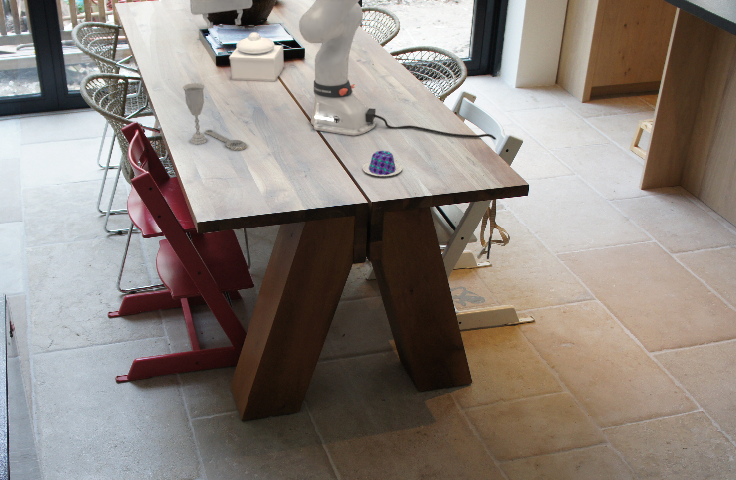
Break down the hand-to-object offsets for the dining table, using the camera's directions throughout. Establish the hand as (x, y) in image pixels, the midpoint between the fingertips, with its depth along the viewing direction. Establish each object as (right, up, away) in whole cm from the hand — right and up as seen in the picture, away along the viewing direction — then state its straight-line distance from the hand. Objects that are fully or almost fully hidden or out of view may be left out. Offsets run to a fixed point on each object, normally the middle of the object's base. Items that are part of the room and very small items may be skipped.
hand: (224, 26), depth 278 cm
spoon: (0, -38, 0) cm, 38 cm away
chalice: (-9, -38, 0) cm, 39 cm away
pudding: (+50, -52, -22) cm, 75 cm away
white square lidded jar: (+8, +3, +58) cm, 58 cm away
